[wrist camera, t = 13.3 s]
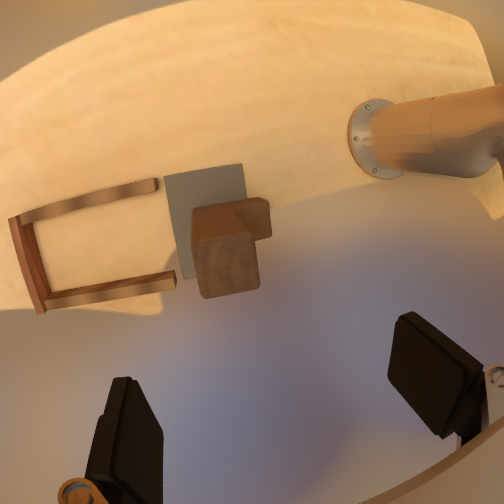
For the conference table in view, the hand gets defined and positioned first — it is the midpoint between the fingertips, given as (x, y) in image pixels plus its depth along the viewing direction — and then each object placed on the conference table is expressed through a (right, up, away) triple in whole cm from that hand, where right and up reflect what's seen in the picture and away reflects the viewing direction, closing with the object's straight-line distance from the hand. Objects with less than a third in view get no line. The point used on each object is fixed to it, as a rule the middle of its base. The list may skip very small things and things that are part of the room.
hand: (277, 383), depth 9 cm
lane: (-22, +5, +27) cm, 35 cm away
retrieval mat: (-6, +8, +29) cm, 31 cm away
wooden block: (-4, +9, +29) cm, 31 cm away
